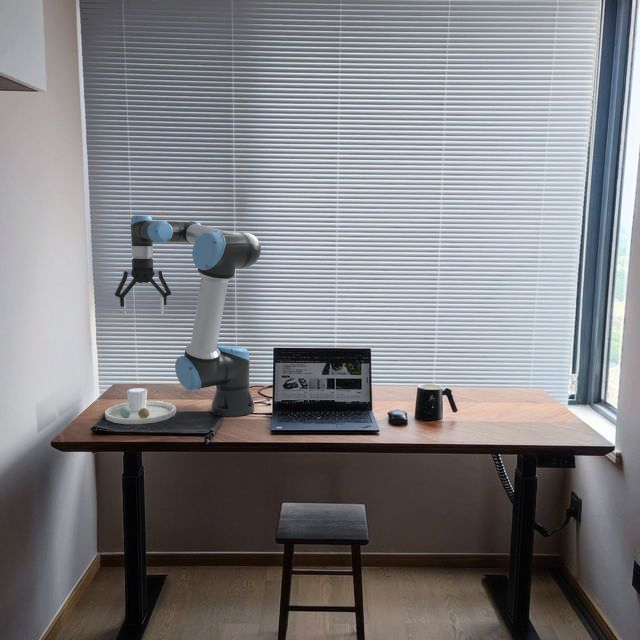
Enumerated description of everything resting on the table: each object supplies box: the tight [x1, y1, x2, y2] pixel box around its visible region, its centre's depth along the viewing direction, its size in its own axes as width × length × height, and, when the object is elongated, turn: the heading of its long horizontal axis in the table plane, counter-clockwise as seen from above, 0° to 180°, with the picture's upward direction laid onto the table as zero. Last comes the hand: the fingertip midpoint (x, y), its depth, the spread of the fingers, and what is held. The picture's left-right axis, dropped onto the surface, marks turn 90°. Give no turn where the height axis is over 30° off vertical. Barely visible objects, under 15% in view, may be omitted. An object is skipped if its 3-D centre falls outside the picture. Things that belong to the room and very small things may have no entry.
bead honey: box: [138, 408, 149, 418], centre depth 212 cm, size 4×4×4 cm
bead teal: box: [120, 407, 131, 417], centre depth 213 cm, size 4×4×4 cm
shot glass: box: [126, 387, 148, 412], centre depth 222 cm, size 7×7×7 cm
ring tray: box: [104, 400, 177, 425], centre depth 217 cm, size 23×23×2 cm
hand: (143, 314), depth 238 cm, fingers open, 13 cm apart
